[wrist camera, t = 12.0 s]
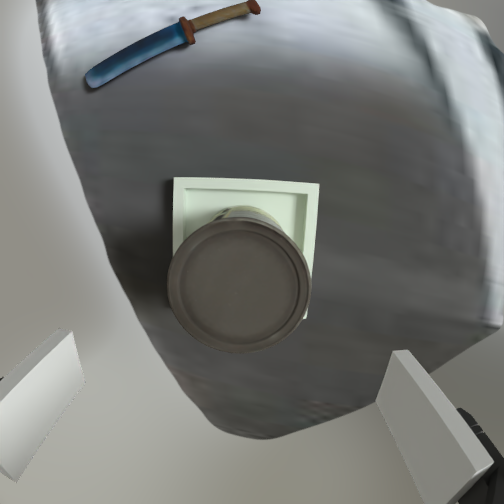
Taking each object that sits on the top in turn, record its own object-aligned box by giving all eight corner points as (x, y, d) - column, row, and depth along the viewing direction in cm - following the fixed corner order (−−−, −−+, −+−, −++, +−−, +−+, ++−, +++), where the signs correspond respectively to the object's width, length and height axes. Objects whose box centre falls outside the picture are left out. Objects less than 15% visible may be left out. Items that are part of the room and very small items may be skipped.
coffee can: (276, 297, 35) (290, 363, 21) (193, 280, 35) (160, 338, 21) (297, 214, 33) (328, 235, 19) (208, 196, 32) (177, 204, 19)
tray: (178, 177, 33) (174, 177, 31) (315, 184, 33) (319, 183, 31) (178, 305, 36) (174, 312, 34) (303, 312, 36) (306, 318, 34)
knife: (81, 93, 27) (78, 67, 27) (94, 101, 30) (90, 75, 30) (267, 11, 24) (252, -11, 24) (267, 25, 27) (253, 3, 27)
